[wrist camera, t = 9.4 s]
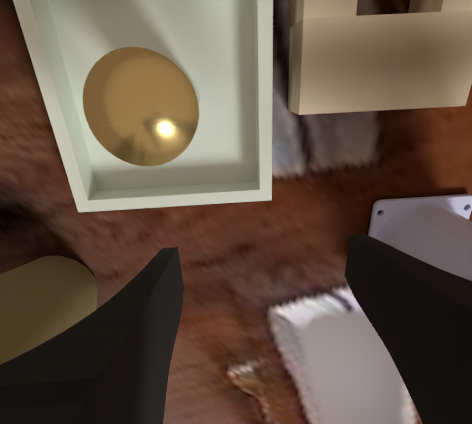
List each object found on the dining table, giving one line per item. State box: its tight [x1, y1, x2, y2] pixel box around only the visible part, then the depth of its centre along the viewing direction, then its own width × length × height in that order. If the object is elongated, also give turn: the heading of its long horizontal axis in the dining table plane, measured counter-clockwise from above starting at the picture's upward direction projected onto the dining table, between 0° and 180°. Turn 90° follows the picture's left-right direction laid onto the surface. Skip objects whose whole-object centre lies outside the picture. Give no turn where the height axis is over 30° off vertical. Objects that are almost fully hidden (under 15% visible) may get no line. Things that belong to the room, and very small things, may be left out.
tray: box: [13, 0, 273, 212], centre depth 17 cm, size 13×13×2 cm
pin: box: [83, 47, 200, 166], centre depth 14 cm, size 4×4×9 cm
